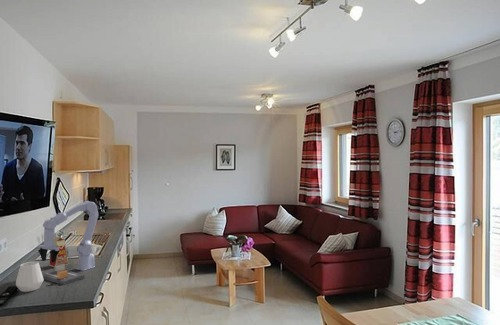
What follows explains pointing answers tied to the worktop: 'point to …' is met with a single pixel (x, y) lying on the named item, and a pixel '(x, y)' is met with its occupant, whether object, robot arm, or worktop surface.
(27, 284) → the cup
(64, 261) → the milk carton
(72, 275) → the mixing panel
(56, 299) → the worktop surface
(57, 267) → the block
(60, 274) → the fader orange
